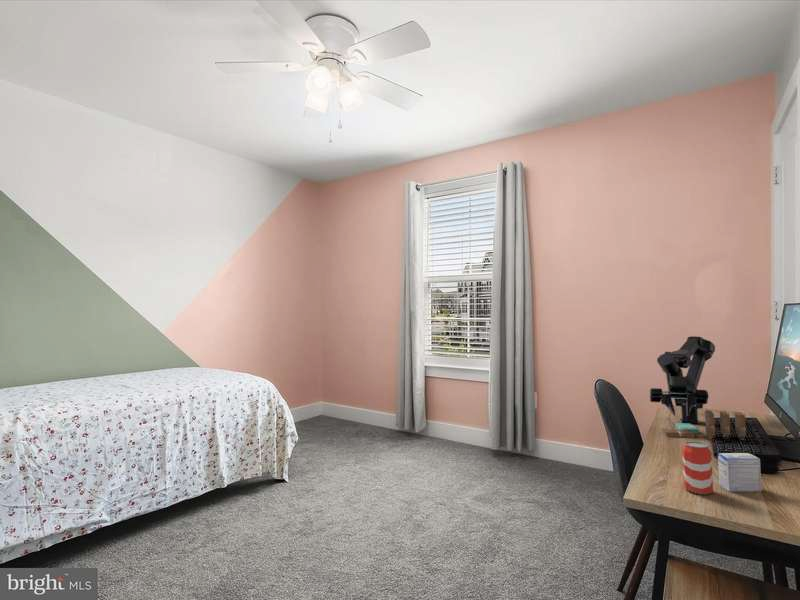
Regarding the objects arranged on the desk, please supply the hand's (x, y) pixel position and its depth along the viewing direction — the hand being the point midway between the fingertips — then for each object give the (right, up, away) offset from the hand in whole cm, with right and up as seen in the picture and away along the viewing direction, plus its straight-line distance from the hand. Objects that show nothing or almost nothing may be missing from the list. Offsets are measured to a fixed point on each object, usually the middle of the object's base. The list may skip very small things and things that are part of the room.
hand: (681, 415), depth 168 cm
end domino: (+5, -7, +3) cm, 9 cm away
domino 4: (+17, -7, -6) cm, 20 cm away
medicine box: (-15, -7, -49) cm, 52 cm away
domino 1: (+4, -7, 0) cm, 8 cm away
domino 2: (+9, -7, -3) cm, 12 cm away
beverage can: (-26, -7, -50) cm, 57 cm away
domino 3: (+13, -7, -5) cm, 16 cm away
